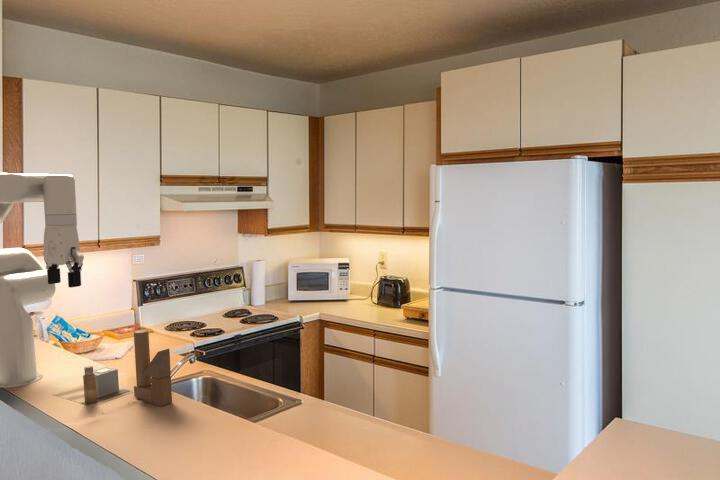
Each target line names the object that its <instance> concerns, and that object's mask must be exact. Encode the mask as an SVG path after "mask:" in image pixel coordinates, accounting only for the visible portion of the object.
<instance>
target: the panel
mask: <svg viewBox="0 0 720 480" xmlns="http://www.w3.org/2000/svg"><path fill="white" fill-rule="evenodd" d="M129 394H134V391H131V390H129V389H126V388H120V387H119V389H118V390H115V391H112V392H109V393H106V394H103V395H100V396H97V402H95V403H92V404H86V403H85V396H84V384H80V385H78V386H74V387H72V388H68V389H65V390H62V391H58V392H55V393H52V396H55V397H59V398H62V399H65V400H69V401H72V402H75V403H78V404H81V405H84V406H88V407H91V408H92V407H95V406H99V405H100V404H101V405H102V404H104V403H106V402H109V401H113V400H115V399H116V400H117V399H118V398H122V397H123V396H127V395H129Z"/></svg>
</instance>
